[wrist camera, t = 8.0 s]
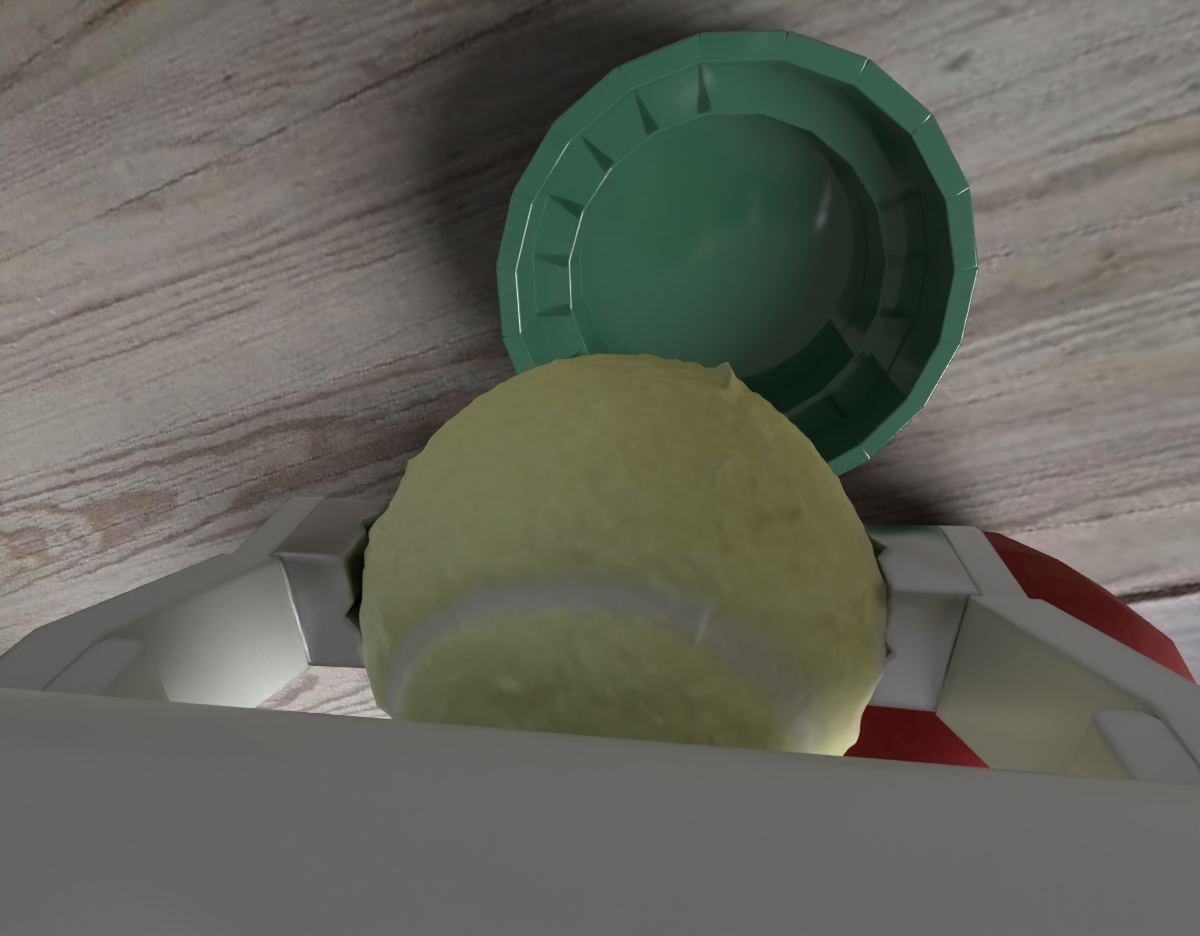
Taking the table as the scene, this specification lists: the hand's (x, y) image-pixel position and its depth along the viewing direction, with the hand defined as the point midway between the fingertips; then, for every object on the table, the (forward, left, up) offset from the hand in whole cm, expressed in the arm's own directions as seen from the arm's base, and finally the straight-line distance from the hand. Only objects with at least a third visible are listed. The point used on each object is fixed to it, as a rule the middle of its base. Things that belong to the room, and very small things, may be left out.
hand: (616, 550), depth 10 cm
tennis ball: (0, 0, -3) cm, 3 cm away
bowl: (0, +2, -19) cm, 19 cm away
